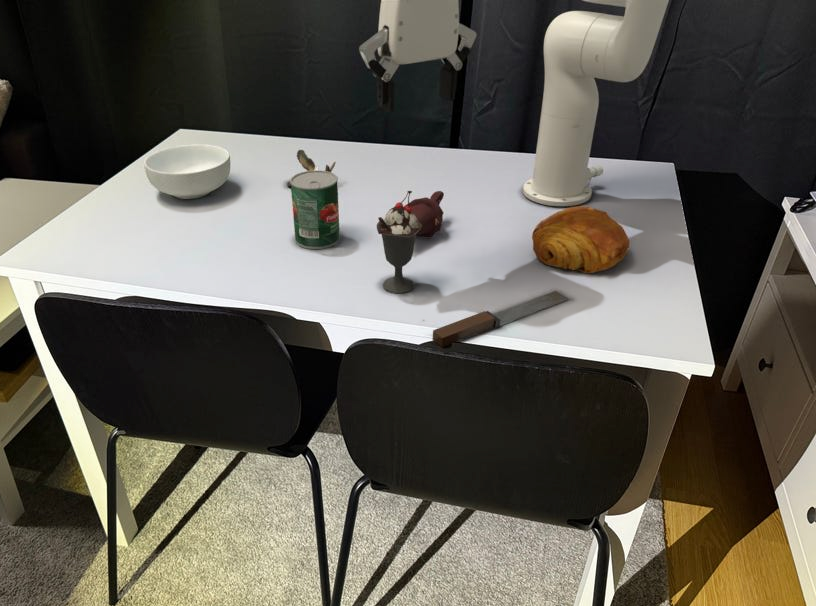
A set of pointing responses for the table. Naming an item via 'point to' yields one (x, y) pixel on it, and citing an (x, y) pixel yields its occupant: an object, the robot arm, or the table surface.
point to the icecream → (428, 214)
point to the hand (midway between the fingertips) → (416, 103)
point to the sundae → (399, 243)
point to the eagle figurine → (309, 163)
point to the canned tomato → (315, 209)
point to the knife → (493, 319)
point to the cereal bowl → (188, 170)
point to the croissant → (580, 240)
